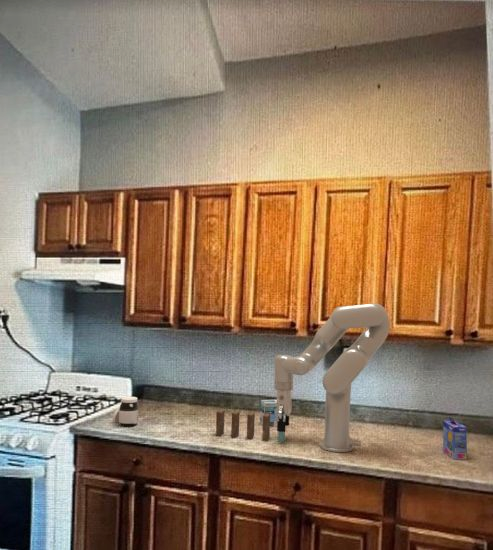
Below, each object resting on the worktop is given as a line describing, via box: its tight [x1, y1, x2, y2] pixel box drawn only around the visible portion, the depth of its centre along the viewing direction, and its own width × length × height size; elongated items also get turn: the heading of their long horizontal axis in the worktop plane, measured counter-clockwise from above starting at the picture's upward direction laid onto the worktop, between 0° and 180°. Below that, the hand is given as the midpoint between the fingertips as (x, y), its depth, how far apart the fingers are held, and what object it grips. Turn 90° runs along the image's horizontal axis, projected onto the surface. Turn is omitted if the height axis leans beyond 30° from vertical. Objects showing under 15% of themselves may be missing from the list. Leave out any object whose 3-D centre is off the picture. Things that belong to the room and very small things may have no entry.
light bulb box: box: [259, 399, 278, 428], centre depth 234 cm, size 11×7×11 cm, turn 105°
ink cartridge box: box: [442, 416, 468, 461], centre depth 197 cm, size 10×6×14 cm, turn 2°
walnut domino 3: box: [246, 411, 256, 441], centre depth 212 cm, size 2×5×10 cm, turn 167°
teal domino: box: [277, 415, 286, 444], centre depth 209 cm, size 2×5×10 cm, turn 166°
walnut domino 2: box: [230, 410, 240, 439], centre depth 213 cm, size 2×5×10 cm, turn 167°
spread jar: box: [112, 396, 139, 428], centre depth 227 cm, size 12×11×12 cm
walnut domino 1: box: [215, 408, 226, 437], centre depth 215 cm, size 2×5×10 cm, turn 167°
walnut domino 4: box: [261, 413, 271, 442], centre depth 210 cm, size 2×5×10 cm, turn 167°
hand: (283, 428), depth 209 cm, fingers open, 9 cm apart
